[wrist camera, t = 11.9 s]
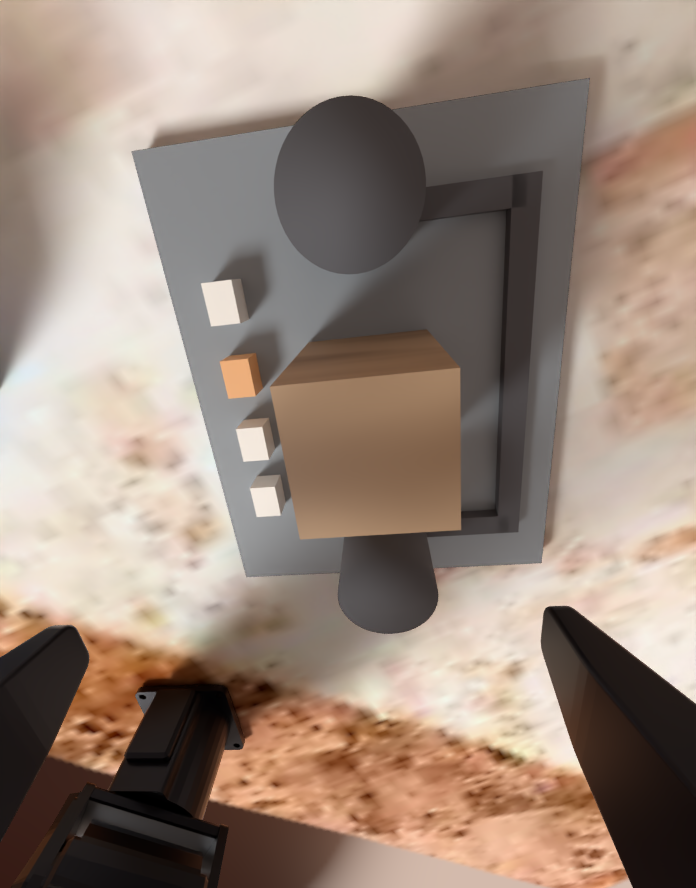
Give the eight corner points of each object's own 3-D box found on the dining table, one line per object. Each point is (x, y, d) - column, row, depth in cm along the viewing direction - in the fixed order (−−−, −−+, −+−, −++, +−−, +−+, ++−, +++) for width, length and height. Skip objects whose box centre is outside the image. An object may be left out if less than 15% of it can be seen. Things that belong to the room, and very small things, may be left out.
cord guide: (512, 549, 21) (552, 628, 16) (350, 557, 22) (344, 635, 17) (539, 122, 14) (623, 49, 9) (295, 159, 14) (260, 109, 10)
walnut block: (430, 439, 19) (460, 530, 12) (324, 448, 19) (300, 539, 13) (426, 329, 17) (460, 367, 10) (308, 342, 17) (269, 386, 11)
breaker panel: (535, 553, 22) (550, 579, 20) (250, 567, 23) (240, 592, 21) (578, 88, 14) (609, 60, 12) (142, 156, 15) (111, 141, 14)
